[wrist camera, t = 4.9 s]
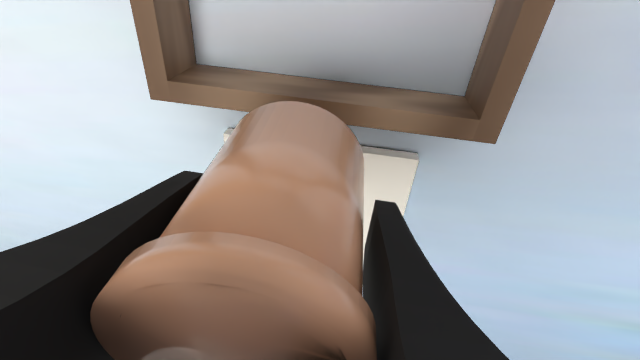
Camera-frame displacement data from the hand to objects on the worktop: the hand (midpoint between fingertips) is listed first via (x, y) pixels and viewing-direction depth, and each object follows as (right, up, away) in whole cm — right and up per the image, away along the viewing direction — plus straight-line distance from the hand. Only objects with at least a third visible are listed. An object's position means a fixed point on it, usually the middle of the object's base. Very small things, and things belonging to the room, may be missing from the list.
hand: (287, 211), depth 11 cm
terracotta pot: (0, +2, +1) cm, 2 cm away
